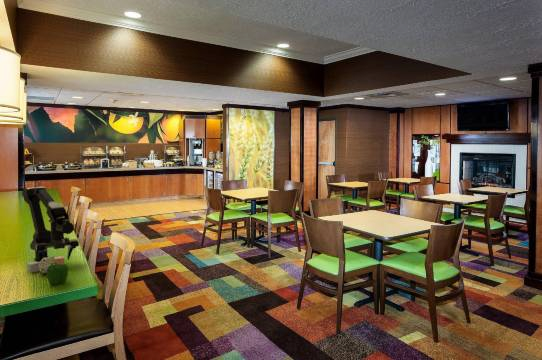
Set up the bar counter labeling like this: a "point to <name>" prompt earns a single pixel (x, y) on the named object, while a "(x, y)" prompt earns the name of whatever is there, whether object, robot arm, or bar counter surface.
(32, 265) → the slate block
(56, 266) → the bell pepper
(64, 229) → the robot arm
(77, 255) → the bar counter surface
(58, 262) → the terracotta block
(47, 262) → the game die
